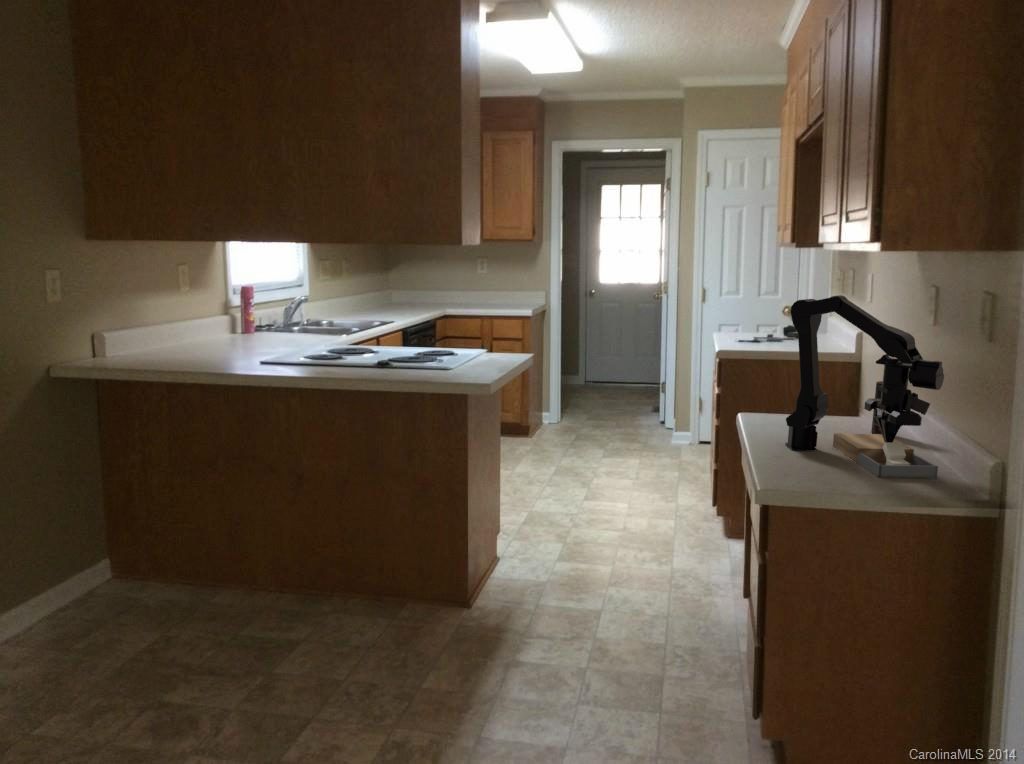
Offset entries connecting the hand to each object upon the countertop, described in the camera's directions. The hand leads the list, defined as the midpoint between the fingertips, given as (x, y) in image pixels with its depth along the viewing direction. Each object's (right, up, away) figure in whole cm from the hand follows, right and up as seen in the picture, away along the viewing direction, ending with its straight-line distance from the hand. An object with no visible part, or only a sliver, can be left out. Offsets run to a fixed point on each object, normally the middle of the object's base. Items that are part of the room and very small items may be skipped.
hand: (888, 445), depth 218 cm
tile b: (0, -3, -5) cm, 6 cm away
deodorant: (+13, 0, +35) cm, 37 cm away
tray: (0, -6, -4) cm, 7 cm away
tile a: (+1, -2, -1) cm, 2 cm away
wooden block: (0, -3, +10) cm, 10 cm away
